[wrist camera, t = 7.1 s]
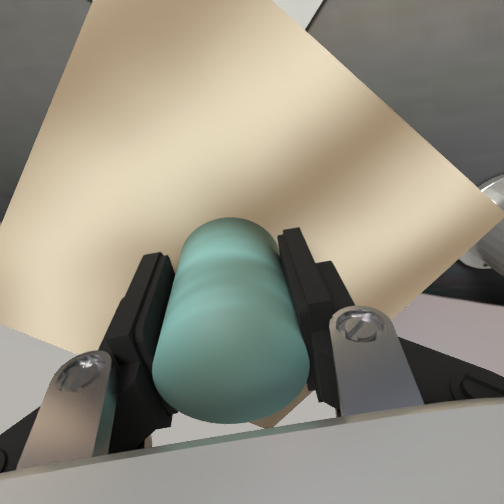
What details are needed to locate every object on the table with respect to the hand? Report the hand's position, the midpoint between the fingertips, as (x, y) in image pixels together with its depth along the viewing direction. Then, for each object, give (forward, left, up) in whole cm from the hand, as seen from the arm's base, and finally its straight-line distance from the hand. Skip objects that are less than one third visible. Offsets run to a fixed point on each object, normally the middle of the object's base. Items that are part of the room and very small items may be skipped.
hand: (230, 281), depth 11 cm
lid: (0, 0, -2) cm, 2 cm away
